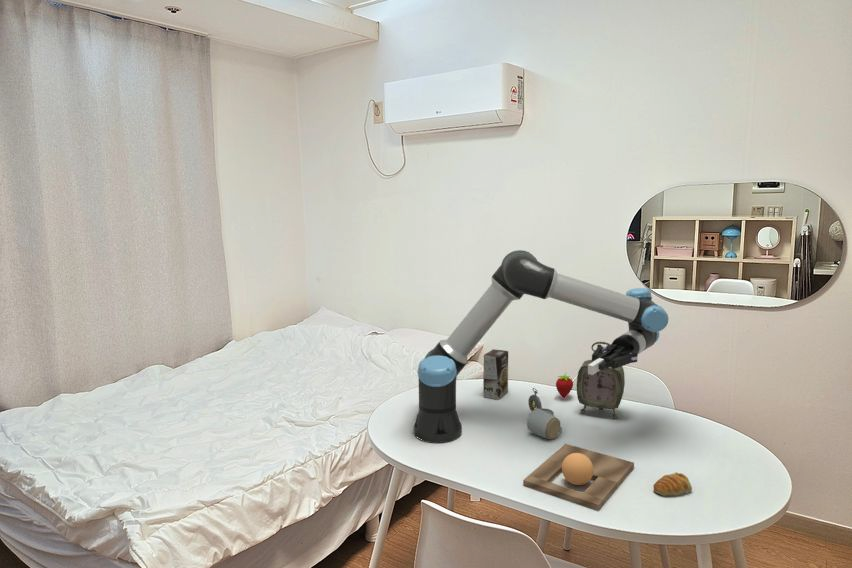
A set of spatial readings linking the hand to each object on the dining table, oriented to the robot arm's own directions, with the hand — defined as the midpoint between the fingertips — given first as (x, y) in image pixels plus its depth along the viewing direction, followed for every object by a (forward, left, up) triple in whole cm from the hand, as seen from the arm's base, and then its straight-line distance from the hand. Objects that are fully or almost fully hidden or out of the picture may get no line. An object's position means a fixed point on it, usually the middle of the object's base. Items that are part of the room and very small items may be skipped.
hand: (590, 370), depth 162 cm
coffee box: (-46, +26, -26) cm, 58 cm away
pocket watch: (-24, +18, -26) cm, 39 cm away
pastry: (+25, -6, -26) cm, 36 cm away
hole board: (+3, -13, -25) cm, 29 cm away
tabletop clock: (-8, +31, -26) cm, 41 cm away
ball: (+4, -17, -21) cm, 27 cm away
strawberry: (-24, +37, -26) cm, 51 cm away
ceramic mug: (-16, +6, -26) cm, 31 cm away
